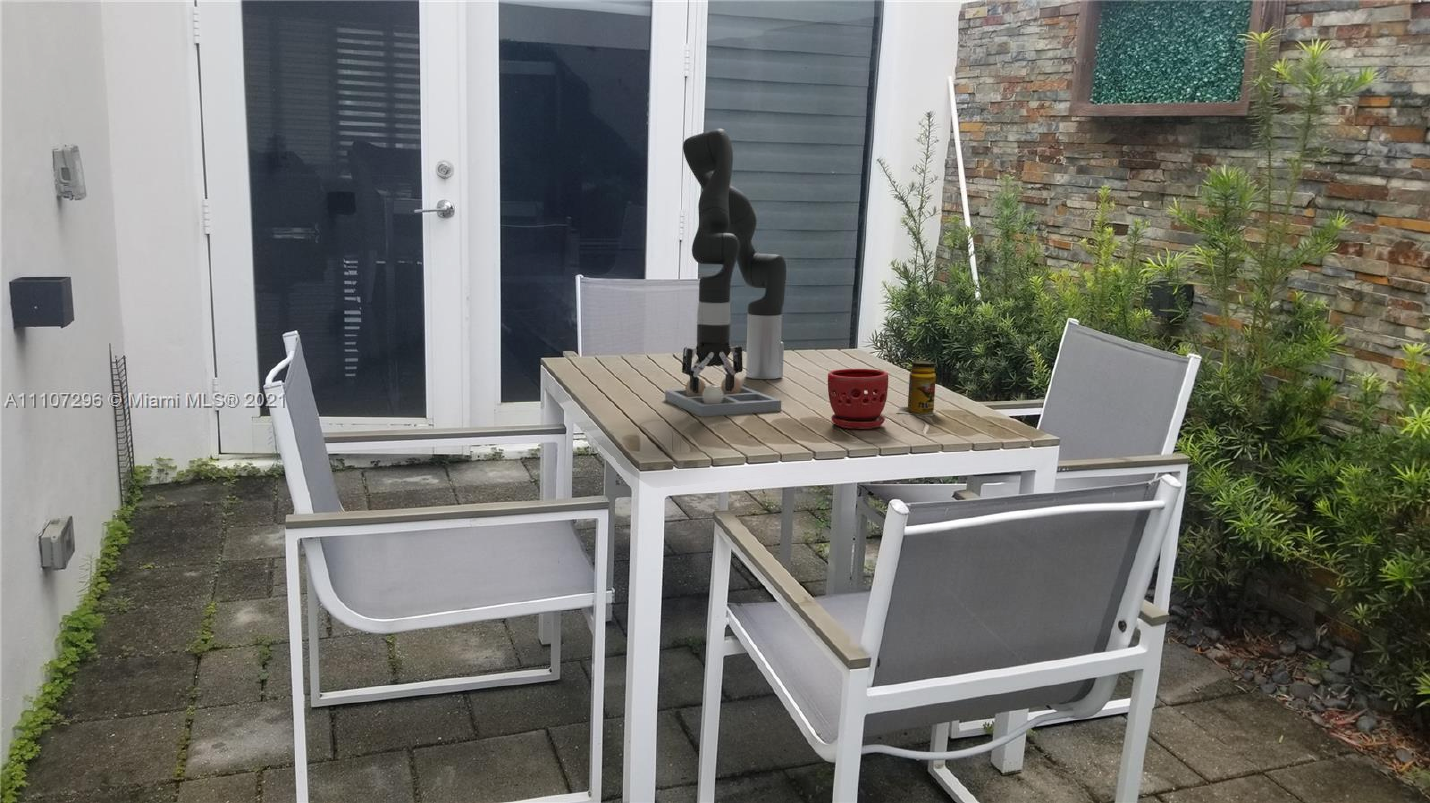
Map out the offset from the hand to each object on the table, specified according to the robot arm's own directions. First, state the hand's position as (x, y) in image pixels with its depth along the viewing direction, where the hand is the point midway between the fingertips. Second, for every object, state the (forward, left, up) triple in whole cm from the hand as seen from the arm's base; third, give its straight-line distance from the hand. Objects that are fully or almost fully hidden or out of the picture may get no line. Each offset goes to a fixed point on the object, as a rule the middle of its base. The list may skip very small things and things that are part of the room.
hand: (711, 391), depth 257 cm
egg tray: (-5, -5, -4) cm, 8 cm away
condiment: (-45, +17, -5) cm, 48 cm away
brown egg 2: (-10, -10, -1) cm, 14 cm away
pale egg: (0, 0, -1) cm, 1 cm away
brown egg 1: (0, -10, -1) cm, 10 cm away
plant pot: (-23, +25, -5) cm, 34 cm away
